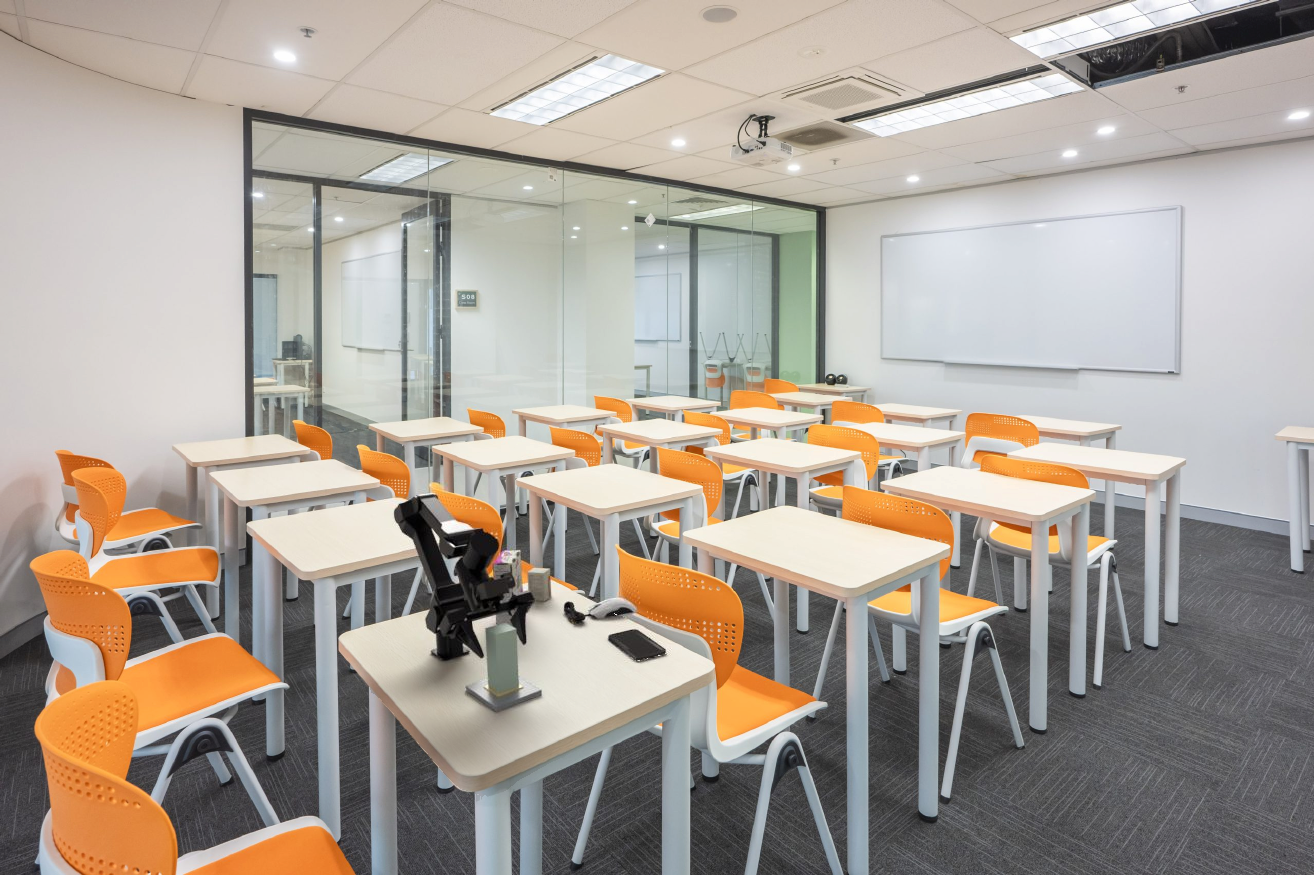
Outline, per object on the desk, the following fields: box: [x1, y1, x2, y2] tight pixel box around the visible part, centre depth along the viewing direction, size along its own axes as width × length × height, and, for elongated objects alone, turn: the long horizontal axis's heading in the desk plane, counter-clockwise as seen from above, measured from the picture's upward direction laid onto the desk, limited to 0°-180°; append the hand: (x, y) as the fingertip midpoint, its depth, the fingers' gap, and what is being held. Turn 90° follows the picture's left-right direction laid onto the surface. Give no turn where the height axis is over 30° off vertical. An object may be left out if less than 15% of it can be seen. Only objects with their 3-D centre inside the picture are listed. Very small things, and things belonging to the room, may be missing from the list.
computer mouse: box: [563, 597, 638, 624], centre depth 185 cm, size 10×18×4 cm, turn 109°
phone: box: [607, 628, 667, 661], centre depth 165 cm, size 8×1×15 cm
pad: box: [465, 674, 543, 713], centre depth 144 cm, size 12×10×1 cm
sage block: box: [484, 622, 520, 694], centre depth 143 cm, size 4×4×12 cm
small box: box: [526, 567, 552, 602], centre depth 197 cm, size 5×4×8 cm
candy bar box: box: [492, 549, 524, 627], centre depth 181 cm, size 11×5×16 cm, turn 179°
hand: (504, 650), depth 142 cm, fingers open, 9 cm apart
